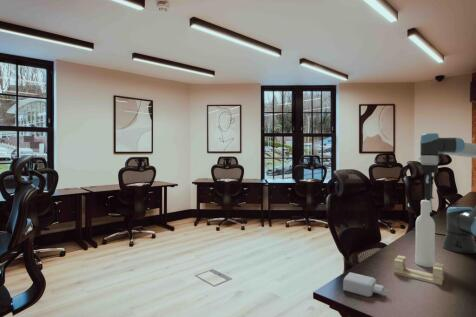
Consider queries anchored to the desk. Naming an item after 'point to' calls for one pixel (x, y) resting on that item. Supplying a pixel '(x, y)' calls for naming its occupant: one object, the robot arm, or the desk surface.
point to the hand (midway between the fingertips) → (428, 211)
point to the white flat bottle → (362, 285)
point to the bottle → (425, 237)
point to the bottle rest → (424, 276)
